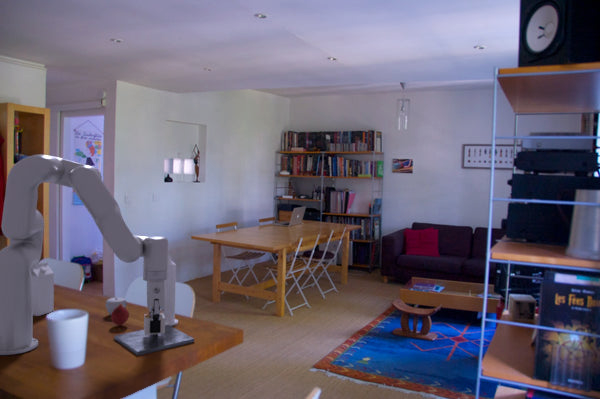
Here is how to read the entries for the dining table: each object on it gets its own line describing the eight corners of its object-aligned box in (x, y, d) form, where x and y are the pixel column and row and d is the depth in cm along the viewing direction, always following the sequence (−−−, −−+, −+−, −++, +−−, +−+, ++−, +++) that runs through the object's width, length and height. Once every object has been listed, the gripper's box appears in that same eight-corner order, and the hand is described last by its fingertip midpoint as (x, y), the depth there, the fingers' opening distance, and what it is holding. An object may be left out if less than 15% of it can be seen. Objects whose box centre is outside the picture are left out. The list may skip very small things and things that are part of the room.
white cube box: (164, 333, 152) (165, 316, 151) (145, 335, 149) (145, 317, 149) (162, 327, 157) (163, 311, 157) (143, 329, 155) (144, 312, 155)
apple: (112, 319, 174) (112, 301, 174) (100, 315, 179) (100, 297, 179) (131, 314, 181) (131, 297, 180) (119, 310, 185) (119, 294, 185)
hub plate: (137, 355, 140) (137, 328, 140) (114, 339, 154) (114, 314, 153) (194, 342, 153) (194, 317, 153) (168, 328, 166) (168, 305, 166)
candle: (182, 322, 174) (183, 255, 172) (169, 327, 167) (170, 257, 166) (167, 319, 177) (168, 253, 175) (153, 324, 170) (155, 255, 169)
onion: (122, 329, 163) (122, 306, 163) (107, 327, 165) (108, 305, 164) (131, 324, 169) (132, 302, 169) (117, 322, 170) (117, 301, 170)
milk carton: (23, 313, 177) (24, 263, 176) (40, 309, 184) (40, 261, 183) (37, 316, 174) (37, 265, 174) (53, 311, 181) (54, 262, 180)
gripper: (170, 279, 146) (169, 337, 147) (164, 269, 162) (163, 320, 163) (145, 281, 143) (144, 339, 144) (141, 270, 159) (140, 322, 160)
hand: (154, 328), depth 153 cm, fingers closed on white cube box, 6 cm apart
